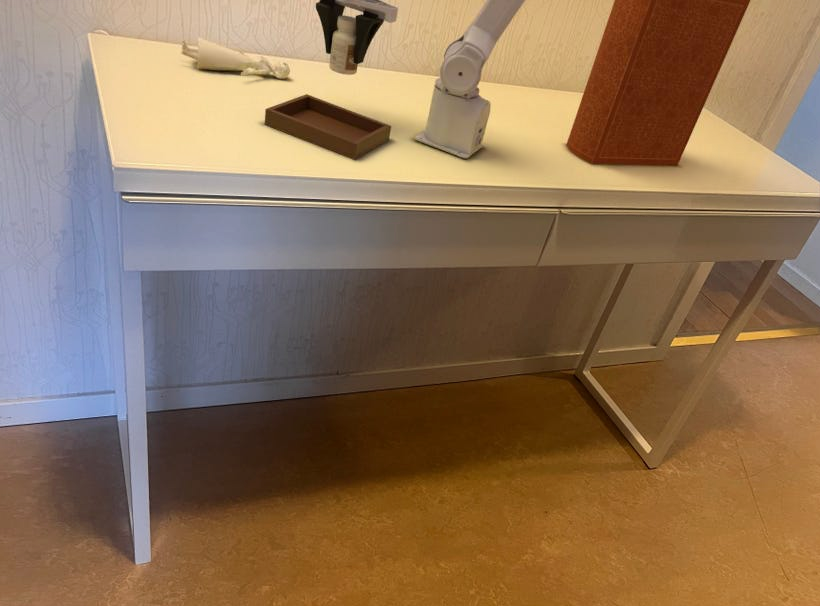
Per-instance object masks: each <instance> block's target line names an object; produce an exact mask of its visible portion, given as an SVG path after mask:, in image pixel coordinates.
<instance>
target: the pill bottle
mask: <svg viewBox="0 0 820 606" xmlns="http://www.w3.org/2000/svg"><path fill="white" fill-rule="evenodd" d="M337 27H338V30H336V31H335V32H334V33H333V38H332V46H331V54H329V64H328V67H329V69H330V70H331V71H333V72H335V73H338V74H341V75H347V76H352V75H355V74H357V71H358V65H359V64H356V63H354V50H355V44H356V20H355V17H353V16H350V15H344V14H343V15H342V16H338V21H337Z"/></svg>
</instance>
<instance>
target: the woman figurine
mask: <svg viewBox="0 0 820 606" xmlns="http://www.w3.org/2000/svg"><path fill="white" fill-rule="evenodd" d="M181 55H183V56H185V57H187V58H191V59H193V60H195V61H197V70H208V71H241V72H240V76H242V77H246V76H249V75H250V76H251V75H265V76H268V75H270V74H271V73H272V74H273V76H274V77H275V78H277V79H280V80H284V79H286V78H288V77H289V76H290V73H291V69H290V67H289V64H288V63H286V62H282V63H280V61H279V62H275V63H274V66H273V65H272V63H271V62H269V60H268V59H267V58H265V57H264V56H262V55H261V56H260V55H258V58H254V57H251V56H249V55H247V54H245V53H244V52H242V51H236V50H235V49H234V50H233V49H231V48H228V47H226V46H223V45H222V44H219V43H215V42H213V41H210V40H207V39H205V38H202V37H200V36H199V37H198V40H197V48H194V47H191V46H188V45H187V43H186V41H185V39H183V40H182V44H181ZM250 68H252V69H253V70H251V71H247V69H250ZM254 69H255V70H254Z"/></svg>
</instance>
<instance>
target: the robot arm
mask: <svg viewBox="0 0 820 606" xmlns="http://www.w3.org/2000/svg"><path fill="white" fill-rule="evenodd" d="M525 2H526V0H485V1H484V4H483V5H482V6H481V8H480V9H479V11H478V13H477V15H476V16H475V17H474V19H473V20H472V21H471V23H470V24H469V25H468V27H467V28H466V29H465V31H464V32H463V33H462V35H461V36H460V37H459V38H457V39H455V40H454V41H451V42H450V43H449V44H448V46H447V47H446V49H445V51H444V54H443V61H442V62H441V65H440V69H439V75H440V76H439V77H438V78H436V79H435V81H434V86H433V90H432V96H431V101H430V106H429V111H428V115H427V119H426V124H425V130H424V131H422V132H420V133H419V134H417V135H416V136H414V140H415V141H417V142H420V143H422V144H425V145H427V146H431V147H433V148H436V149H438V150H441V151H444V152H446V153H449V154H451V155H454V156H457V157H460V158H462V159H469V158H470V157H471V156H472V155H474V154H475V153H476V152H478V151H479V150H480V149H481V148H483V141H484V137H485V134H486V129H487V126H488V121H489V118H490V114H491V106H492V105H491V101H489V100H488V99H485V98H484V97H482V96H481V95H480V88H479V87H478V86H479V84H480V82H481V79H482V72H483V68H484V66H485V65H486V63H487V61H488V60H489V58H490V56H491V54H492V52H493V50H494V48H495V47H496V45H497V42H498V41H499V40H500V38H501V36H502V35H503V34H504V32H505V31H506V29H507V28H508V26H509V25H510V24H511V22H512V20H513V19H514V17H515V16H516V14H517V13H518V12H519V10H520V9H521V7H522V5H524V3H525ZM346 8H349V9H352V10H356V11H358V12H361V14H357V15H355V17H354V18H355V20H356V44H355V50H354V63H356V64H358V65H359V64H363V63H364V61H365V58H366V54H367V52H368V50H369V47H370V45H371V43H372V41H373V39H374V38H375V36H376V34H377V32H378V31H379V30H380V28H381V26H383V24H384V22H387V23H390V24H391V23H395V22H397V19H398V18H397V17H398V12H399V7H397V6H394V5H391V4H389V3H387V2H385V1H382V0H319V1H318V2H315V10H316V12H317V14H318V17H319V20H320V24H321V28H322V32H323V39H324V46H325V54H328V55H331V46H332V38H333V33H334V32H335V31H336V30H338V27H337V21H338V16H342V15H343V16H344V12H345V9H346Z"/></svg>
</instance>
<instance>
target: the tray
mask: <svg viewBox="0 0 820 606" xmlns="http://www.w3.org/2000/svg"><path fill="white" fill-rule="evenodd" d="M264 111H265V114H264V125H265V126H267V127H270V128H273V129H276V130H277V131H280V132H283V133H286V134H288V135H291V136H292V137H296V138H298V139H301V140H303V141H306V142H308V143H310V144H314V145H317V146H319V147H321V148H324V149H326V150H329V151H331V152H334V153H337V154H339V155H342V156H344V157H347V158H349V159H352V160H357V159H358V158H360V157H362V156H363V155H365V154H367V153H369V152H371V151H373V150H374V149H376V148H379V147H380V146H382V145H383V144H385V143H387V142H389V141H390V138H391V137H390V136H391V131H392V125H390V124H387V123H384V122H382V121H380V120H377V119H374V118H371V117H369V116H366V115H363V114H361V113H358V112H355V111H353V110H350V109H348V108H344V107H342V106H339V105H337V104H334V103H331V102H328V101H326V100H323V99H322V98H318V97H315V96H313V95H310V94H307V93H306V94H303V95H300V96H298V97H295V98H292V99H289V100H286V101H283V102H281V103H278V104H275V105H272V106H269V107H268V108H265V110H264Z"/></svg>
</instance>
